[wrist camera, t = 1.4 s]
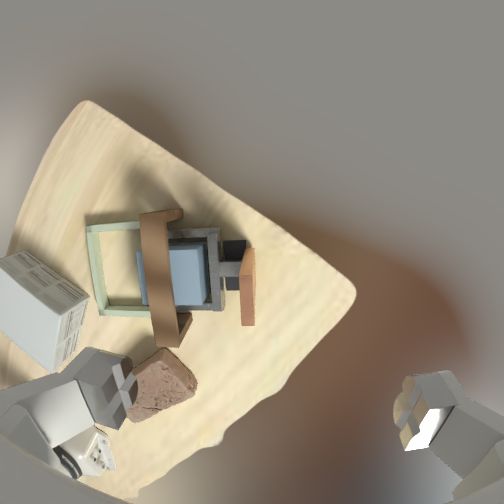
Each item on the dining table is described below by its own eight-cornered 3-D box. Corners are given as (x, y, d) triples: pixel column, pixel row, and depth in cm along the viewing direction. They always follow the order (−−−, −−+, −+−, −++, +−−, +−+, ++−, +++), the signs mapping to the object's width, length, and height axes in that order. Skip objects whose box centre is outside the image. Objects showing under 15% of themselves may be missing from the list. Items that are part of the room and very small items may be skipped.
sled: (256, 303, 40) (255, 352, 27) (163, 305, 41) (128, 348, 28) (253, 225, 38) (250, 241, 25) (155, 230, 39) (110, 247, 26)
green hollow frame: (166, 312, 42) (162, 318, 40) (105, 310, 42) (99, 315, 40) (156, 219, 39) (151, 220, 37) (92, 224, 39) (85, 226, 37)
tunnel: (192, 320, 42) (178, 347, 33) (173, 320, 42) (156, 346, 34) (182, 208, 39) (163, 212, 30) (162, 210, 39) (138, 214, 30)
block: (209, 290, 41) (202, 305, 35) (157, 290, 41) (142, 304, 35) (206, 241, 40) (197, 249, 34) (152, 243, 40) (135, 251, 34)
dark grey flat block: (248, 289, 41) (248, 289, 40) (226, 290, 41) (226, 290, 40) (245, 240, 39) (245, 240, 39) (223, 241, 39) (223, 241, 39)
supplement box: (18, 305, 43) (-11, 321, 34) (26, 248, 41) (-8, 259, 31) (78, 351, 44) (52, 376, 35) (91, 295, 42) (59, 316, 33)
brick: (141, 412, 46) (133, 427, 42) (110, 382, 45) (100, 396, 41) (201, 378, 44) (196, 395, 40) (167, 343, 43) (158, 358, 39)
